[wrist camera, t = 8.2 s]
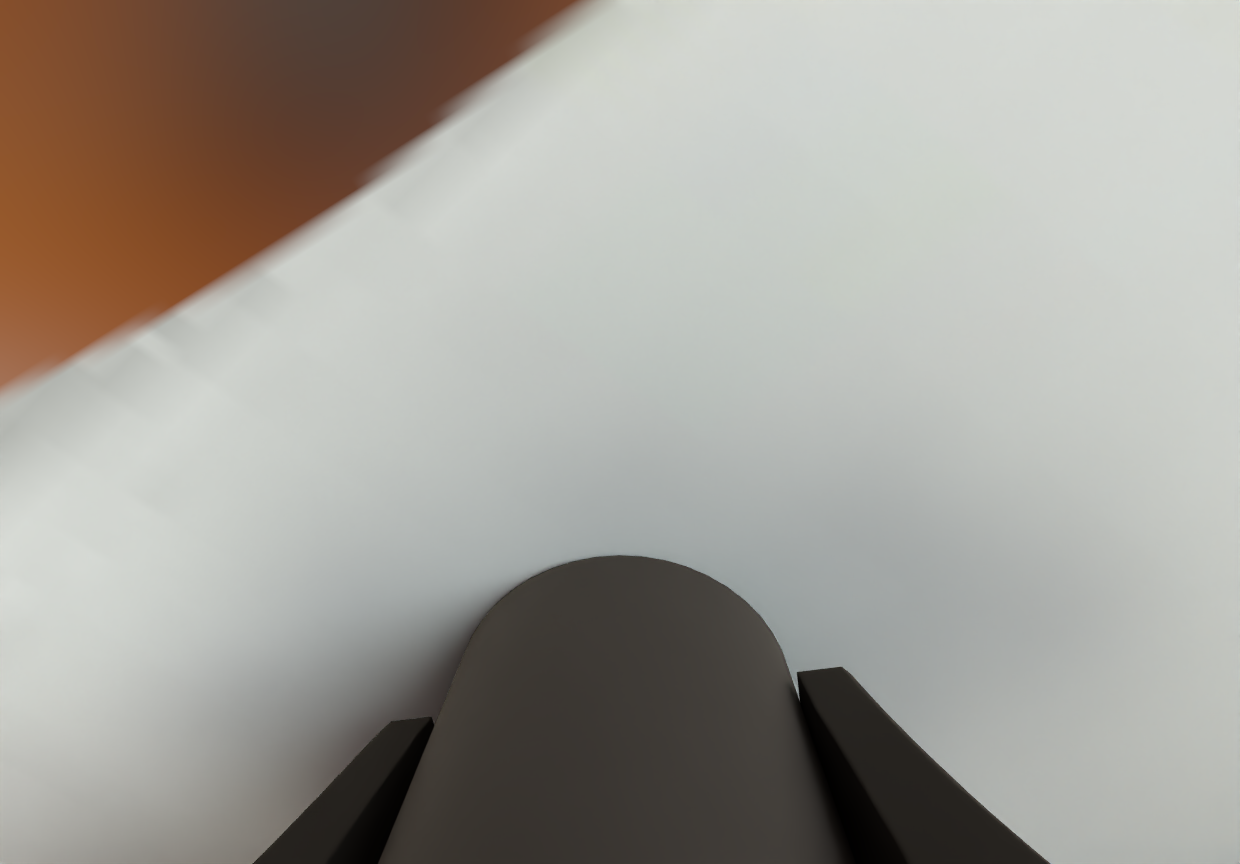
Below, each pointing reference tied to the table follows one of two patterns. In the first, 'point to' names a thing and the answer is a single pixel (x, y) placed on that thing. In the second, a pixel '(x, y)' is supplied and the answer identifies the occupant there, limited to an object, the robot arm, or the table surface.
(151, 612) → the table surface
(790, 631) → the table surface
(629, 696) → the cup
